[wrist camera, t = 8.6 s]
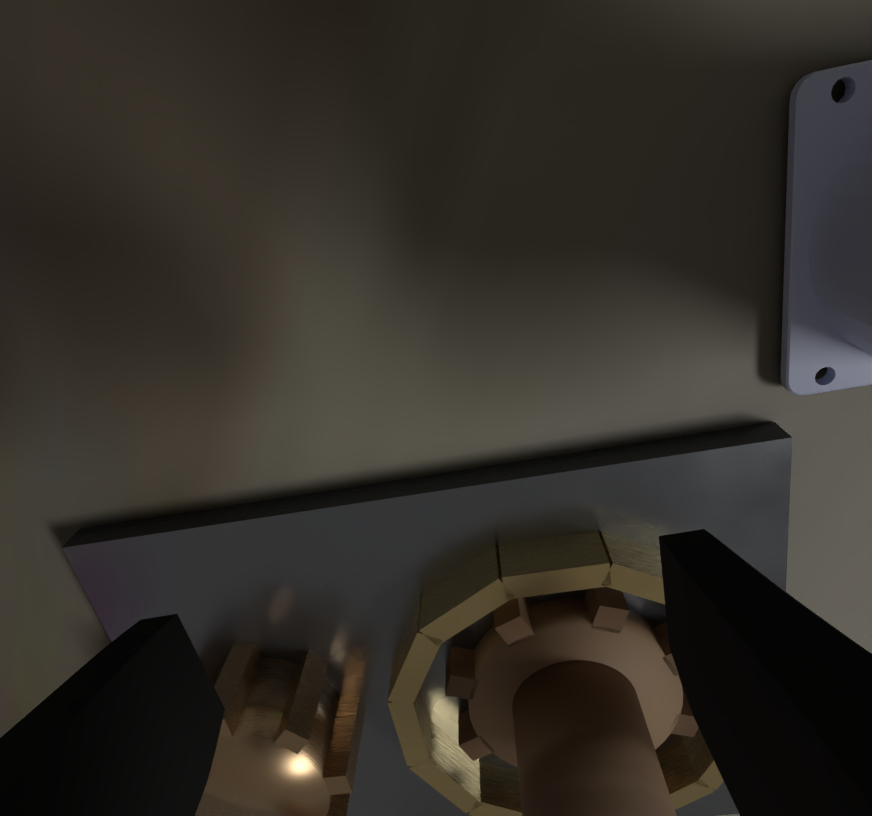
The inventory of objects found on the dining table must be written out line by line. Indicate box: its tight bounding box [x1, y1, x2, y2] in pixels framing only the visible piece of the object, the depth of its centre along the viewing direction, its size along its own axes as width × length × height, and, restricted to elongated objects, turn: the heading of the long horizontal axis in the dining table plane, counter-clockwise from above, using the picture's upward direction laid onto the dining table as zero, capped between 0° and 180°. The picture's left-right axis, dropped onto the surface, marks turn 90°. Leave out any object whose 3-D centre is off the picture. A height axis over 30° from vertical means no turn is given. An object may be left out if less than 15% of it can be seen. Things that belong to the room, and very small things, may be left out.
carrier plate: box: [62, 422, 792, 816], centre depth 20 cm, size 22×16×4 cm
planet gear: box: [445, 587, 699, 816], centre depth 18 cm, size 8×8×6 cm
